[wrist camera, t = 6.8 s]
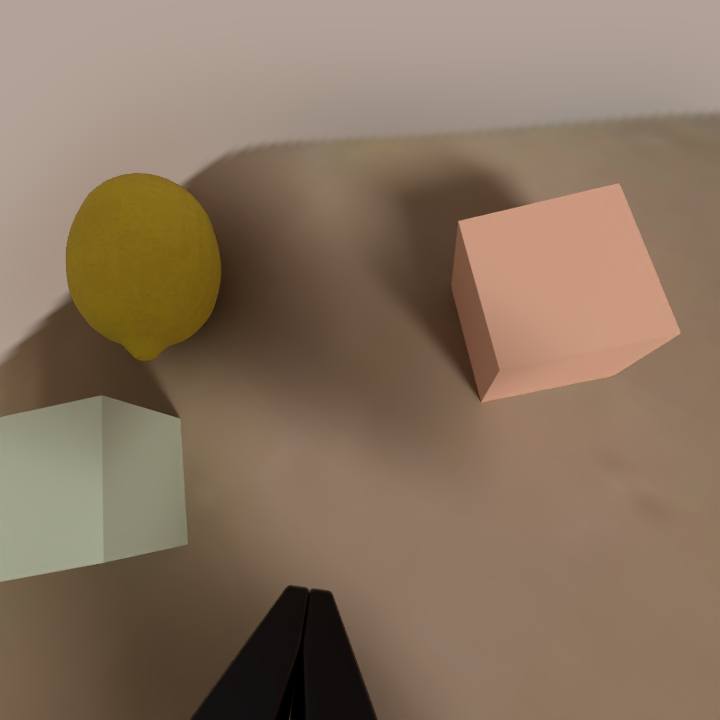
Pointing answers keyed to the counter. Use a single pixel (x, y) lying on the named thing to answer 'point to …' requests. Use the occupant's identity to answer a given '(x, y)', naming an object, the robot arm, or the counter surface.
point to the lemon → (143, 263)
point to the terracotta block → (557, 293)
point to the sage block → (88, 486)
